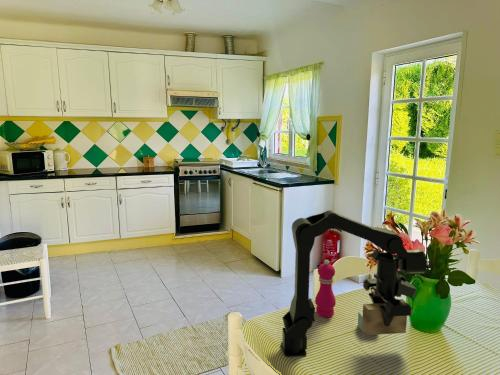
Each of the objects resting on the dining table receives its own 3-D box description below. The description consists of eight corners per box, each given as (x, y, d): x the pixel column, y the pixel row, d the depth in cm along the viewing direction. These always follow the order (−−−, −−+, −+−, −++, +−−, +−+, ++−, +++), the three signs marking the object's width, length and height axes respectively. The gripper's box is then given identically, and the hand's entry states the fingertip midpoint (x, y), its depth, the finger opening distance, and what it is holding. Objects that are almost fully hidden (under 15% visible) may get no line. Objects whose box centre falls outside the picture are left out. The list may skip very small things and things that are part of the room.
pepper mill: (330, 320, 121) (332, 265, 118) (311, 313, 125) (312, 260, 122) (338, 311, 127) (340, 259, 123) (320, 306, 131) (321, 254, 128)
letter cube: (364, 334, 113) (364, 319, 112) (357, 325, 118) (358, 311, 117) (378, 333, 113) (379, 319, 113) (371, 324, 118) (372, 310, 118)
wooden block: (366, 335, 103) (368, 309, 101) (361, 328, 106) (363, 304, 105) (405, 332, 104) (407, 307, 103) (399, 326, 107) (401, 302, 106)
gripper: (432, 285, 94) (428, 339, 96) (397, 260, 112) (394, 306, 115) (393, 287, 93) (389, 341, 95) (363, 261, 111) (361, 307, 113)
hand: (384, 322), depth 105 cm, fingers closed on wooden block, 3 cm apart
